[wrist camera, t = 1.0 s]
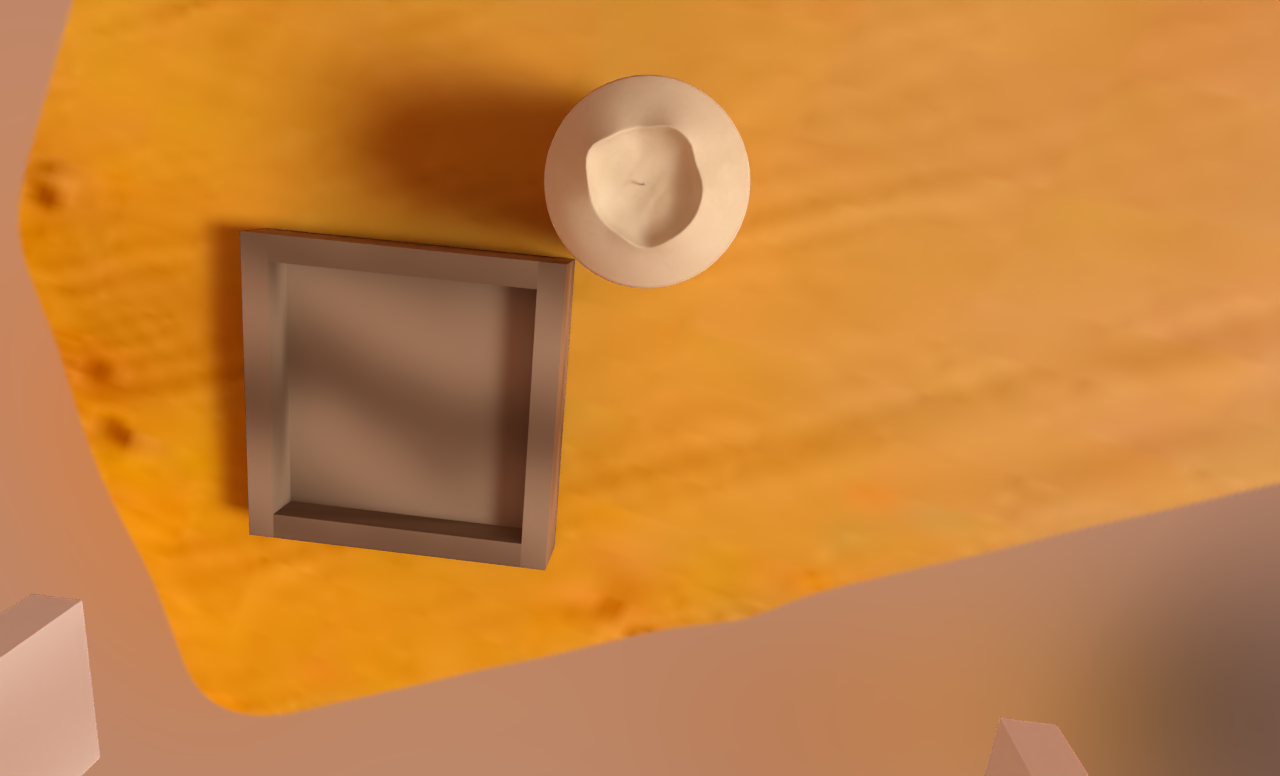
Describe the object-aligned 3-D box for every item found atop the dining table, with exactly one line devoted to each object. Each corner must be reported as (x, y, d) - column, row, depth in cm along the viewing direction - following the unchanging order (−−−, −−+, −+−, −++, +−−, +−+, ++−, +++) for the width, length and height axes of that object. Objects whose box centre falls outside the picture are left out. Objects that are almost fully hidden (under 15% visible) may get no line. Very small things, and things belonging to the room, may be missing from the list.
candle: (557, 198, 30) (489, 203, 20) (649, 74, 28) (623, 15, 19) (672, 290, 30) (660, 338, 21) (767, 172, 29) (800, 164, 19)
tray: (268, 228, 31) (240, 231, 29) (574, 259, 30) (566, 264, 28) (275, 514, 34) (249, 534, 32) (554, 548, 33) (545, 570, 31)
